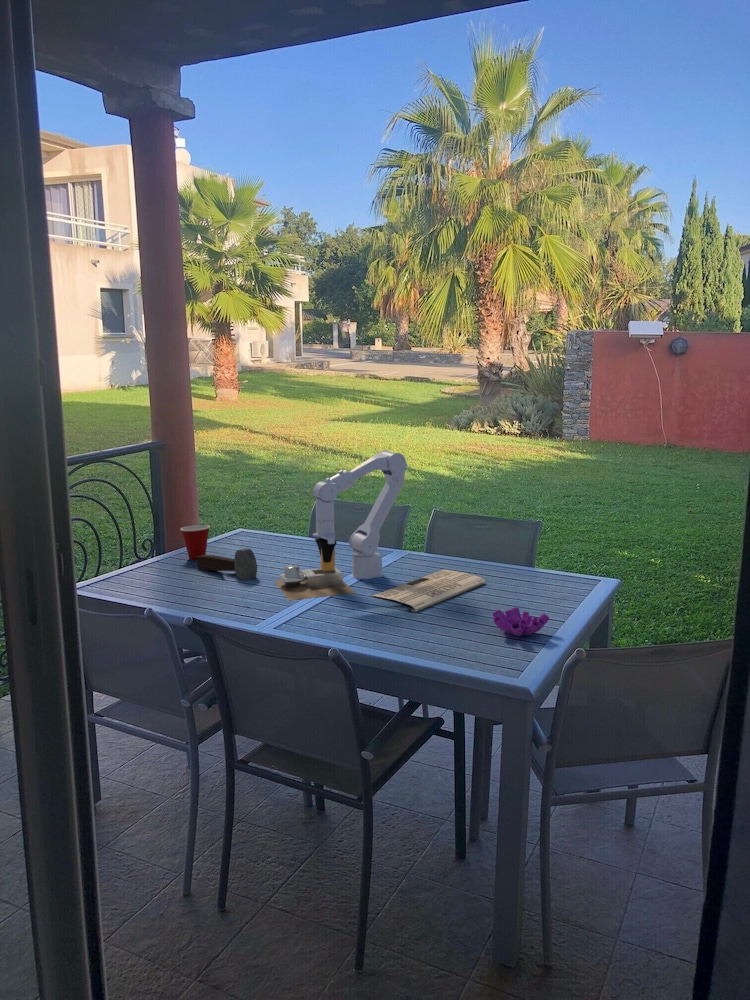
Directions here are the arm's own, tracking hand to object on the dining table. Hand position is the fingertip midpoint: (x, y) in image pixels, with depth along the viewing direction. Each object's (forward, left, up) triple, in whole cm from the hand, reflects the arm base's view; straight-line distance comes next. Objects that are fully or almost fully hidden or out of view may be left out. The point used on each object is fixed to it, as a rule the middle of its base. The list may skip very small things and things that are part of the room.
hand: (325, 561), depth 253 cm
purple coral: (-36, +60, -9) cm, 71 cm away
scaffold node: (+6, 0, -7) cm, 9 cm away
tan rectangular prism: (-1, 0, -3) cm, 3 cm away
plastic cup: (+36, -51, -9) cm, 63 cm away
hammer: (+29, -25, -9) cm, 39 cm away
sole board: (+5, +4, -8) cm, 11 cm away
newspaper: (-29, +18, -9) cm, 36 cm away
